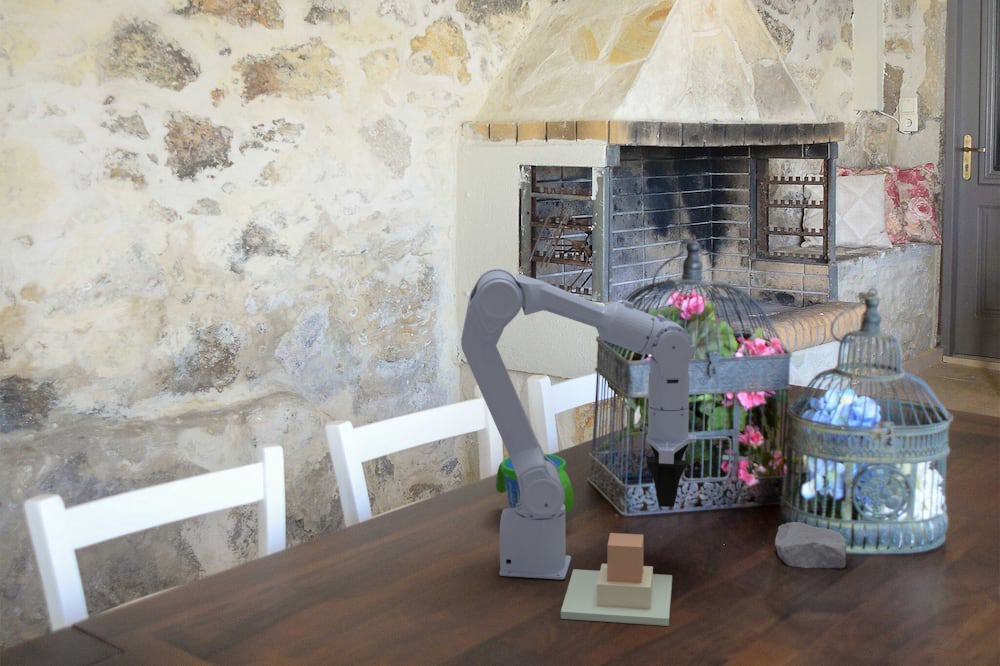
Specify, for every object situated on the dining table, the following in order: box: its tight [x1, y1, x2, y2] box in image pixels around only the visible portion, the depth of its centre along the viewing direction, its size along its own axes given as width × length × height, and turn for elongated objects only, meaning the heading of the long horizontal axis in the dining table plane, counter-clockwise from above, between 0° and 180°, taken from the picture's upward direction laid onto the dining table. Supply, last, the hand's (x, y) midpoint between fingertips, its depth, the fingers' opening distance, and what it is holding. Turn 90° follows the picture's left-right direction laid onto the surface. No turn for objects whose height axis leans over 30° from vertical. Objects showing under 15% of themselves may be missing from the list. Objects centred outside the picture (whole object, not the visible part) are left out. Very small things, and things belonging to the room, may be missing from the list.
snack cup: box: [495, 453, 575, 514], centre depth 176 cm, size 16×10×10 cm
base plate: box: [560, 563, 673, 627], centre depth 147 cm, size 14×14×4 cm
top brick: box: [606, 532, 645, 583], centre depth 145 cm, size 4×4×5 cm
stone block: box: [774, 521, 847, 569], centre depth 163 cm, size 12×5×10 cm
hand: (667, 497), depth 157 cm, fingers open, 7 cm apart
